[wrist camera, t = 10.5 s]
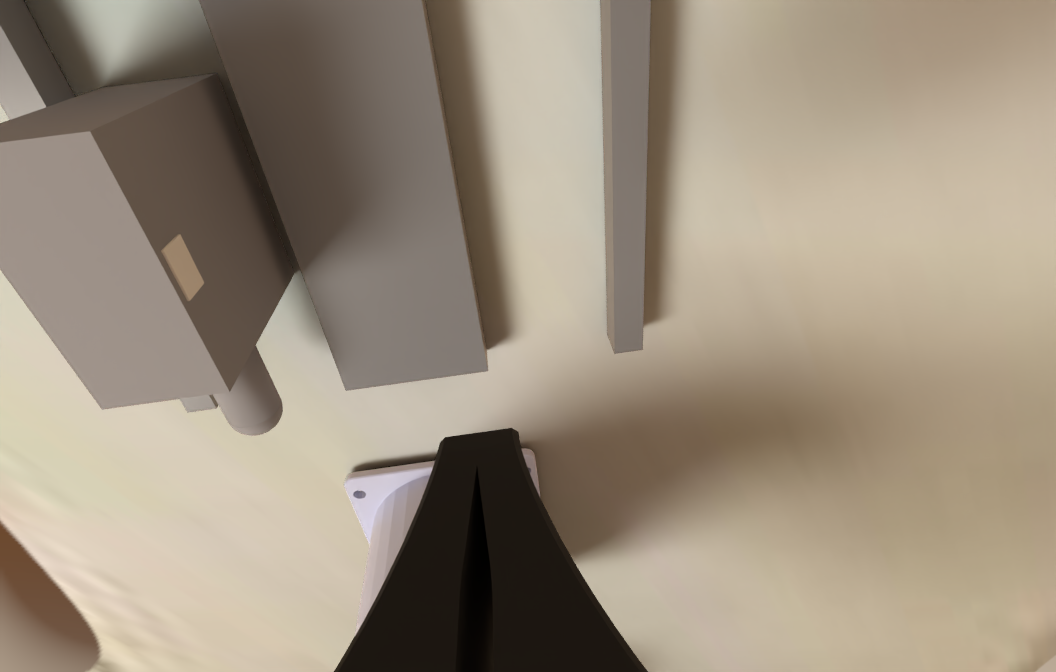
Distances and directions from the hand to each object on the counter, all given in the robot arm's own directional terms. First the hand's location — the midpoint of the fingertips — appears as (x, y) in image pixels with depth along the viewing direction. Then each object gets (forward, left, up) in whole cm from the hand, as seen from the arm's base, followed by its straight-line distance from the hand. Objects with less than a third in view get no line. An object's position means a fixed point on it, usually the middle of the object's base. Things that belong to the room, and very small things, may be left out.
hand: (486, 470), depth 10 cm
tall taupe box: (+1, +8, -9) cm, 12 cm away
